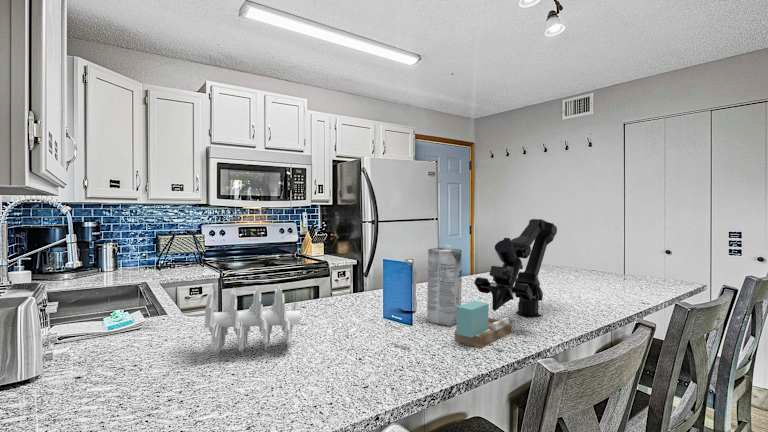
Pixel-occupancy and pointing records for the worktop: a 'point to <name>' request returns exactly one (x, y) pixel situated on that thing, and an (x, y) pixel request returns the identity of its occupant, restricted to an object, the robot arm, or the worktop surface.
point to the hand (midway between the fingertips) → (493, 309)
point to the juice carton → (444, 284)
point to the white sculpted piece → (250, 319)
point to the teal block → (472, 318)
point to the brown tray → (487, 333)
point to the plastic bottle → (414, 284)
